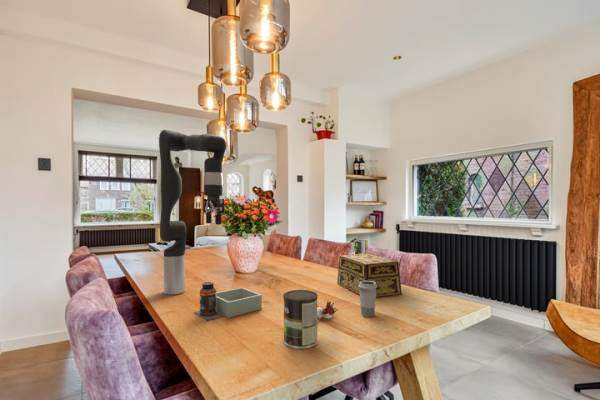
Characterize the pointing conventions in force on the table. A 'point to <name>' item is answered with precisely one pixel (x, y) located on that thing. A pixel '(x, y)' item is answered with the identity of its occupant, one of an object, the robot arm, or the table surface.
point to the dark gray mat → (210, 317)
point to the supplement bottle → (207, 299)
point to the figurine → (326, 311)
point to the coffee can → (300, 319)
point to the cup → (367, 298)
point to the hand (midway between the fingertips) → (213, 223)
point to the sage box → (237, 302)
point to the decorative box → (369, 274)
